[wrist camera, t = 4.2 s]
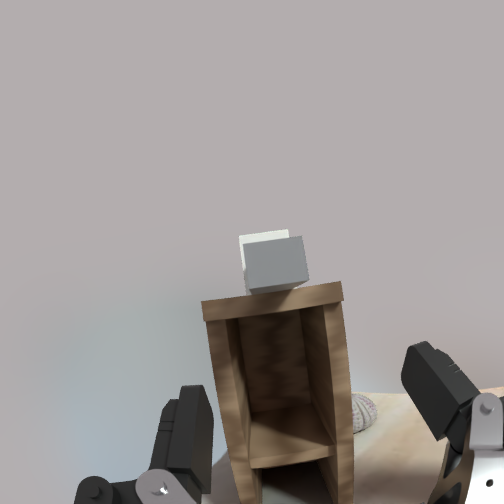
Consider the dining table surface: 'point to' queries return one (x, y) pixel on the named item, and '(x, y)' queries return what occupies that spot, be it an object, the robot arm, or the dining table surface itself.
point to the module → (272, 262)
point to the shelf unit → (284, 385)
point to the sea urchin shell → (362, 412)
